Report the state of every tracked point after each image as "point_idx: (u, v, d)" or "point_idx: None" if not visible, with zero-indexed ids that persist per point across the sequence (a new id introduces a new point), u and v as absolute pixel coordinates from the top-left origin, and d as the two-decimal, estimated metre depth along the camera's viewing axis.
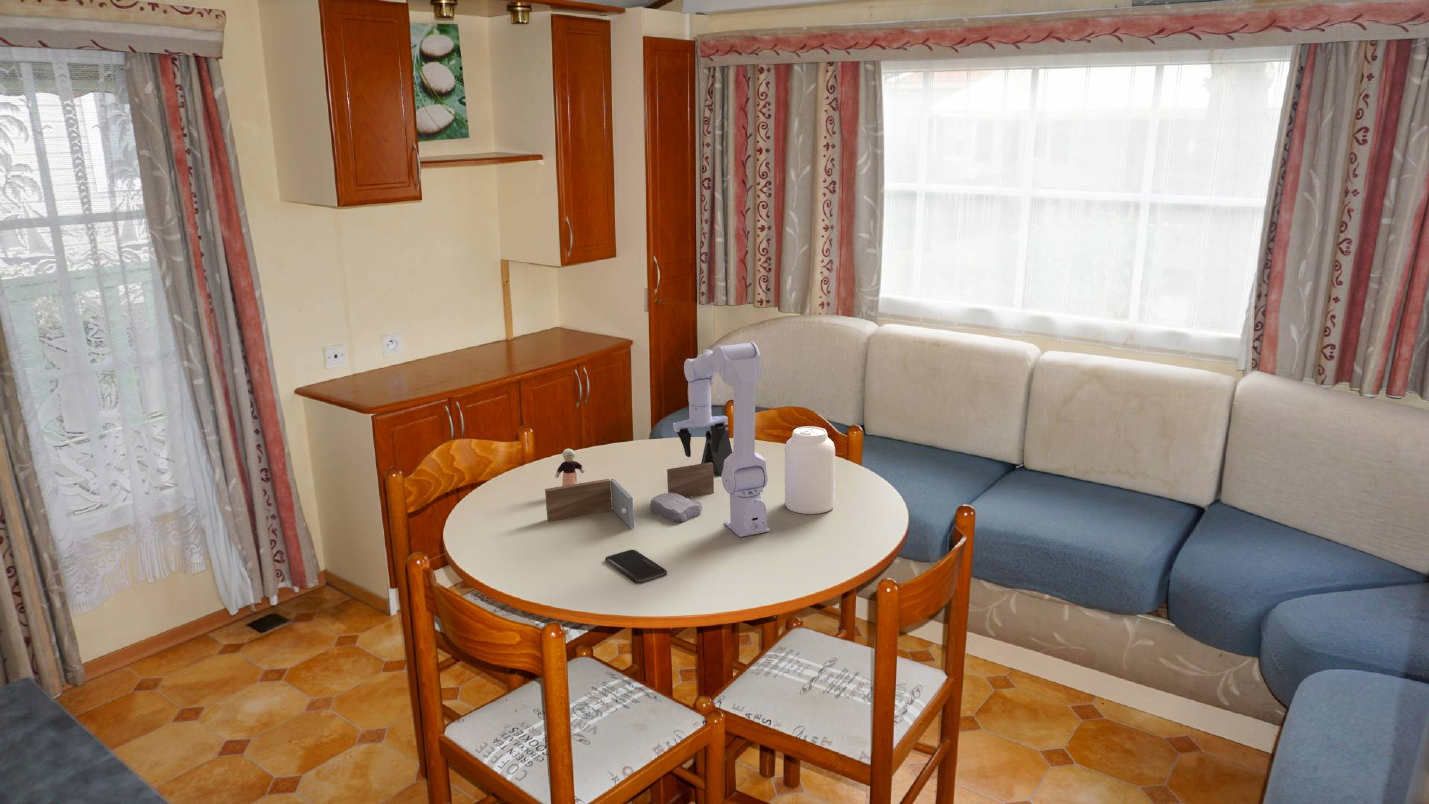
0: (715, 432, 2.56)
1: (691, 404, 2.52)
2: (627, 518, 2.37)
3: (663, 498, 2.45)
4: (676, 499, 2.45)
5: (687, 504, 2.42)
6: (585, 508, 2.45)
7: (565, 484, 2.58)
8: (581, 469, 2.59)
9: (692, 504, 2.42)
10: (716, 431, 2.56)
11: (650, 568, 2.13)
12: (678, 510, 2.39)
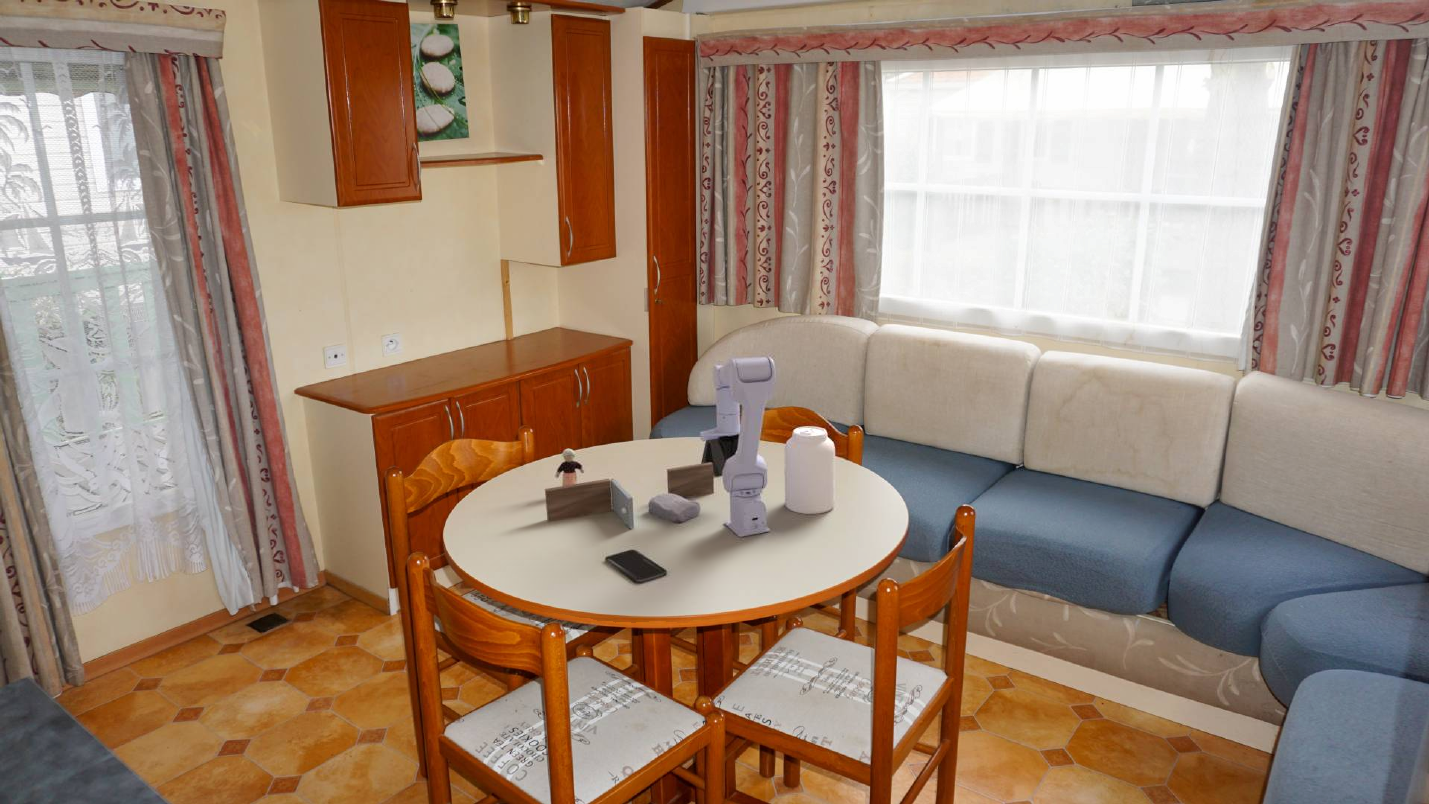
0: None
1: (718, 412, 2.43)
2: (627, 518, 2.37)
3: (661, 498, 2.44)
4: (674, 500, 2.45)
5: (685, 505, 2.41)
6: (585, 508, 2.45)
7: (565, 484, 2.58)
8: (581, 469, 2.59)
9: (690, 505, 2.41)
10: (732, 442, 2.45)
11: (650, 568, 2.13)
12: (676, 510, 2.39)
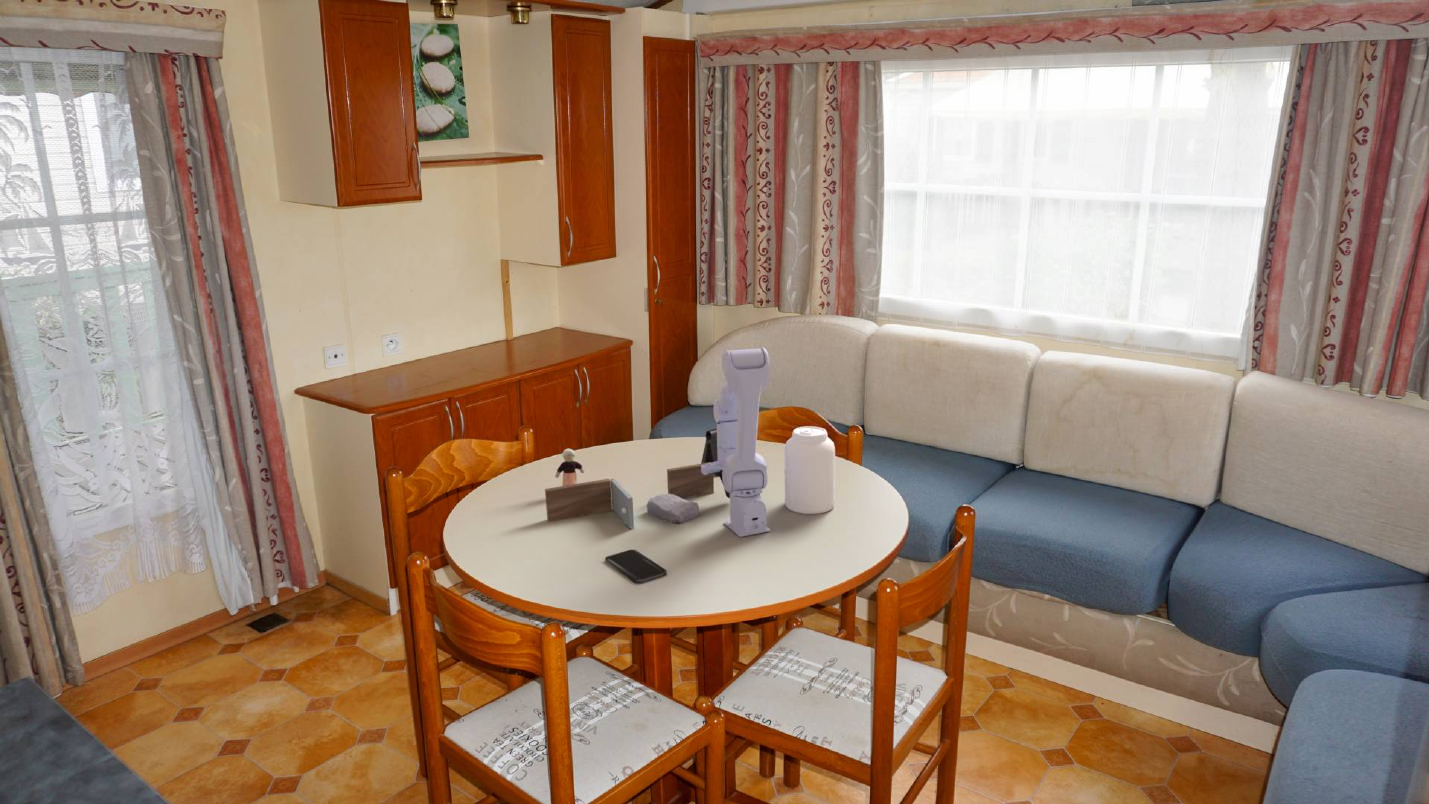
0: None
1: (718, 446, 2.45)
2: (627, 518, 2.37)
3: (660, 499, 2.44)
4: (673, 500, 2.45)
5: (684, 505, 2.41)
6: (585, 508, 2.45)
7: (565, 484, 2.58)
8: (581, 469, 2.59)
9: (689, 505, 2.41)
10: None
11: (650, 568, 2.13)
12: (675, 511, 2.38)
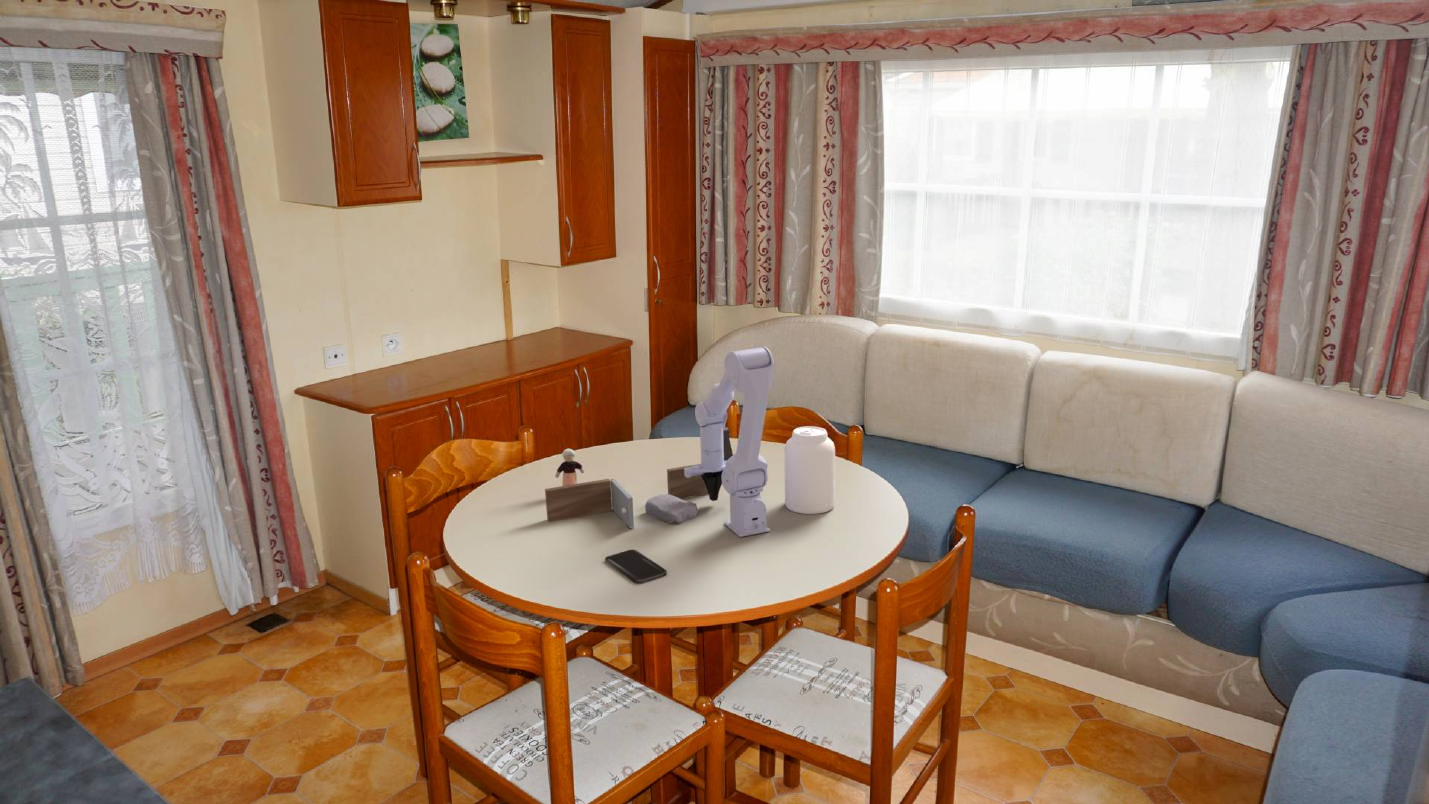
0: None
1: (704, 449, 2.43)
2: (627, 518, 2.37)
3: (658, 500, 2.44)
4: (671, 501, 2.44)
5: (682, 506, 2.41)
6: (585, 508, 2.45)
7: (565, 484, 2.58)
8: (581, 469, 2.59)
9: (687, 506, 2.41)
10: None
11: (650, 568, 2.13)
12: (673, 512, 2.38)
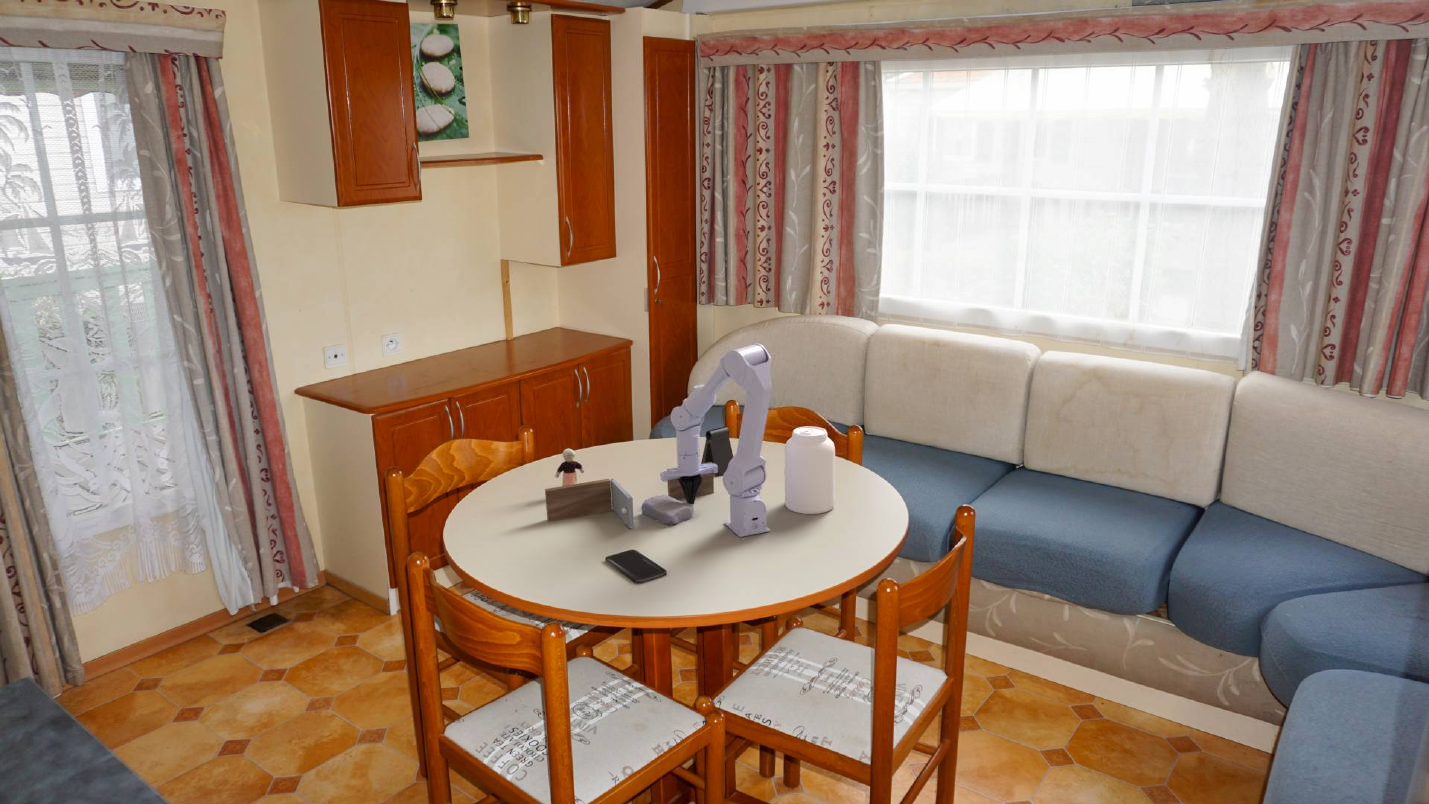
0: (691, 483, 2.44)
1: (683, 454, 2.40)
2: (627, 518, 2.37)
3: (654, 500, 2.43)
4: (668, 502, 2.44)
5: (679, 507, 2.40)
6: (585, 508, 2.45)
7: (565, 484, 2.58)
8: (581, 469, 2.59)
9: (684, 507, 2.40)
10: None
11: (650, 568, 2.13)
12: (669, 513, 2.37)
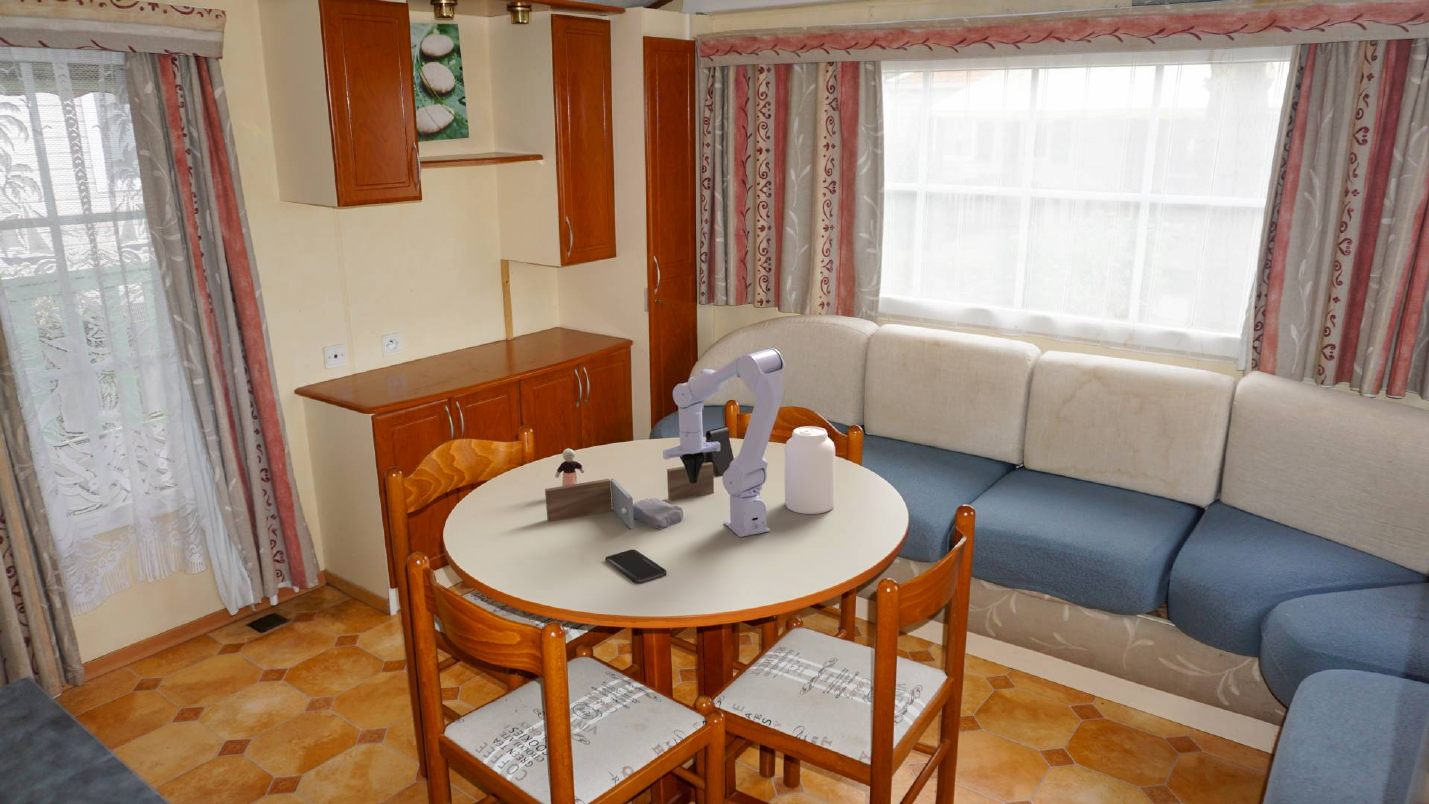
0: None
1: (685, 431, 2.39)
2: (627, 518, 2.37)
3: (644, 503, 2.41)
4: (657, 505, 2.42)
5: (668, 510, 2.38)
6: (585, 508, 2.45)
7: (565, 484, 2.58)
8: (581, 469, 2.59)
9: (673, 510, 2.38)
10: (695, 460, 2.42)
11: (650, 568, 2.13)
12: (658, 516, 2.35)
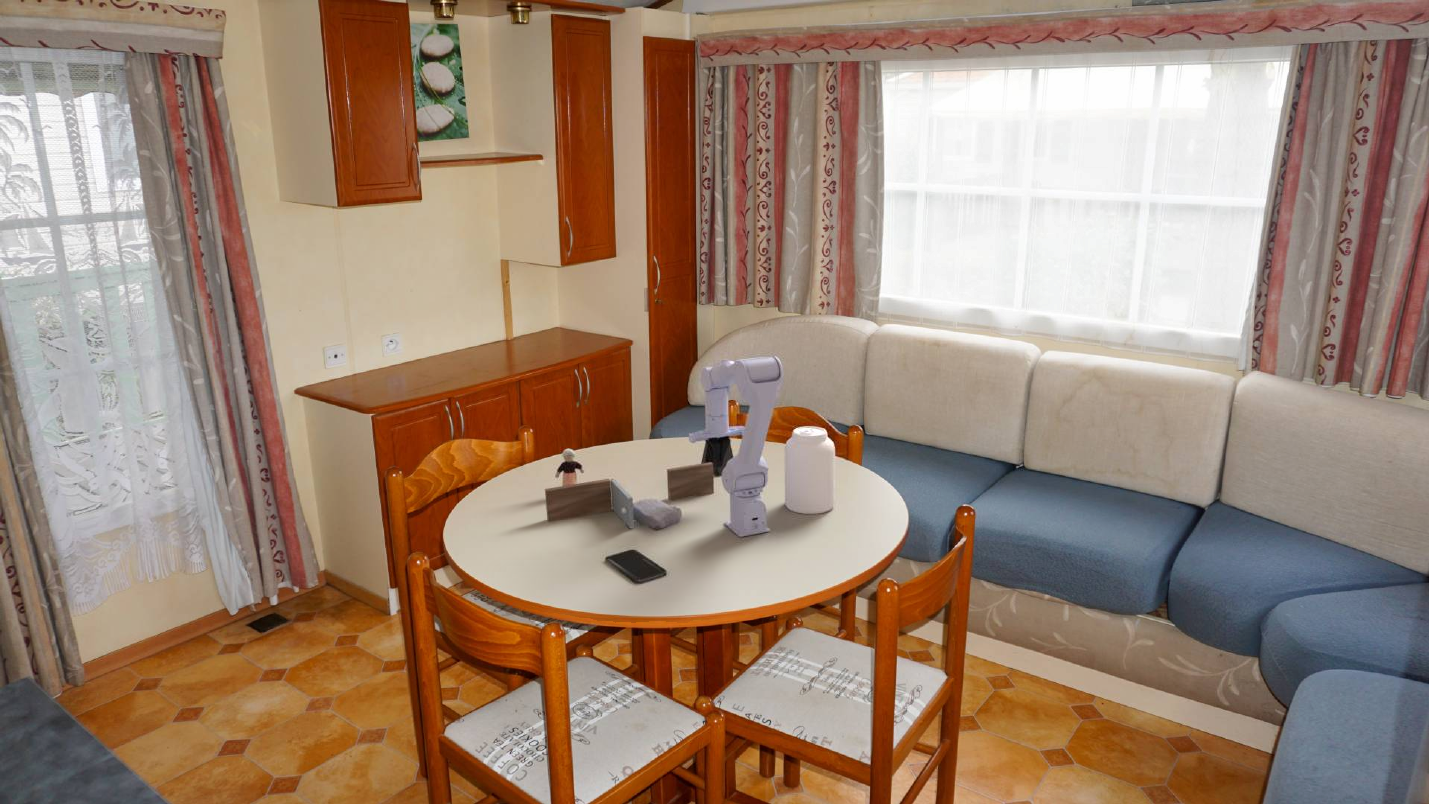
0: None
1: (708, 414, 2.42)
2: (627, 518, 2.37)
3: (642, 504, 2.41)
4: (656, 505, 2.41)
5: (666, 511, 2.38)
6: (585, 508, 2.45)
7: (565, 484, 2.58)
8: (581, 469, 2.59)
9: (671, 511, 2.38)
10: (721, 444, 2.44)
11: (650, 568, 2.13)
12: (656, 517, 2.35)
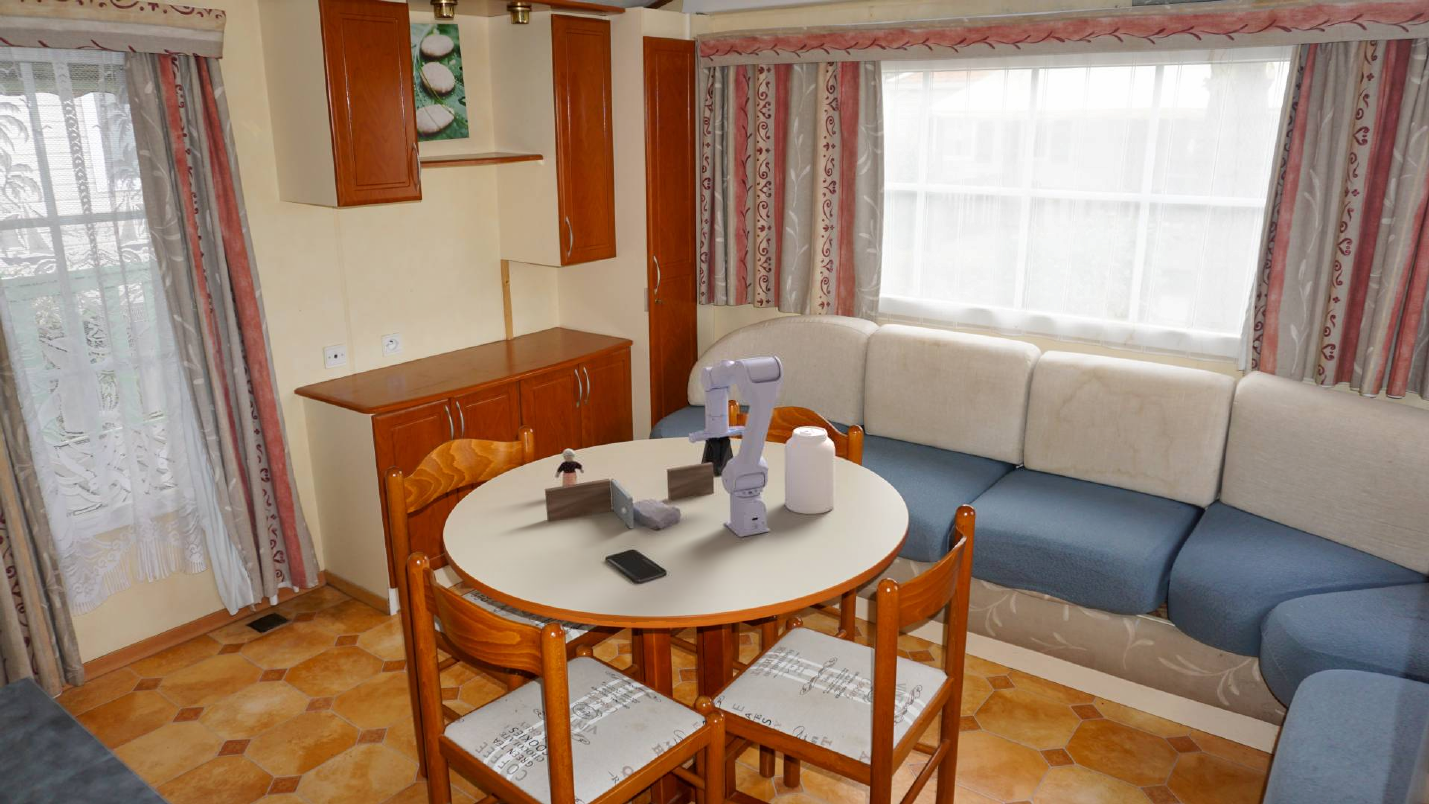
0: None
1: (708, 414, 2.42)
2: (627, 518, 2.37)
3: (641, 504, 2.41)
4: (655, 506, 2.41)
5: (665, 511, 2.38)
6: (585, 508, 2.45)
7: (565, 484, 2.58)
8: (581, 469, 2.59)
9: (670, 511, 2.38)
10: (721, 444, 2.44)
11: (650, 568, 2.13)
12: (655, 517, 2.35)
